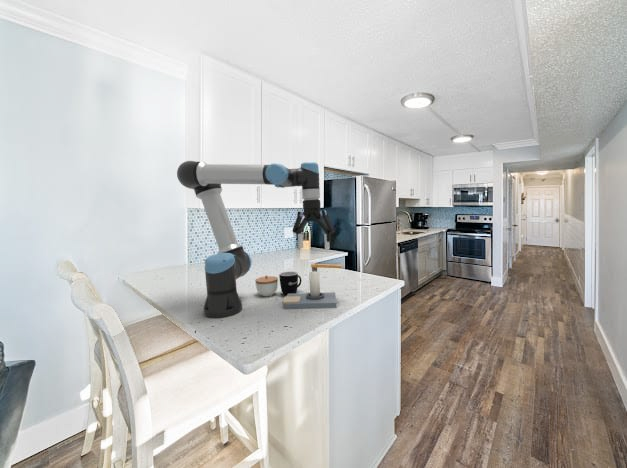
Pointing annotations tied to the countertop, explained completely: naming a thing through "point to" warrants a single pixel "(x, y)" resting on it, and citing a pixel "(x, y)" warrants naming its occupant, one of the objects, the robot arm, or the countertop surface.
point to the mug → (289, 282)
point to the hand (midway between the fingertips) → (313, 248)
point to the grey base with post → (309, 300)
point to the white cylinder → (314, 284)
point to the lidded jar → (266, 285)
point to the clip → (325, 266)
